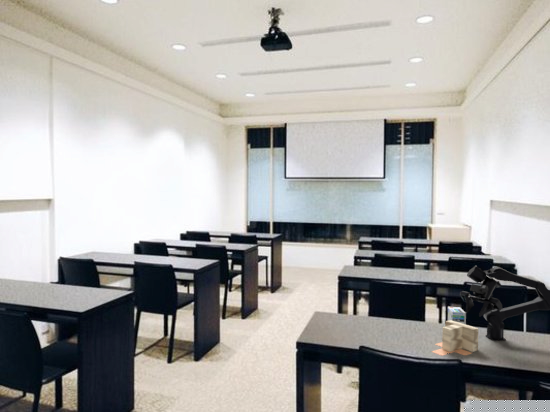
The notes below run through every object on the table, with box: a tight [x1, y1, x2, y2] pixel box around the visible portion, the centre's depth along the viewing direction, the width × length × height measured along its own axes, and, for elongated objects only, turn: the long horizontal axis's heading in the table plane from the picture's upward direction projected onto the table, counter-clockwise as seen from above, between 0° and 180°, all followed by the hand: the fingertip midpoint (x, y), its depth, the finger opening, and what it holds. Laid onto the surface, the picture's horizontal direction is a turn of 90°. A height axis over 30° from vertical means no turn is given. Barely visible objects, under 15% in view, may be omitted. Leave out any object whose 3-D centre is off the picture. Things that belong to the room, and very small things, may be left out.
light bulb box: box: [447, 306, 467, 325], centre depth 203 cm, size 11×7×11 cm, turn 168°
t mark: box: [430, 341, 473, 357], centre depth 175 cm, size 14×16×1 cm
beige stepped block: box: [441, 320, 479, 353], centre depth 178 cm, size 13×14×10 cm
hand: (472, 314), depth 185 cm, fingers open, 6 cm apart
